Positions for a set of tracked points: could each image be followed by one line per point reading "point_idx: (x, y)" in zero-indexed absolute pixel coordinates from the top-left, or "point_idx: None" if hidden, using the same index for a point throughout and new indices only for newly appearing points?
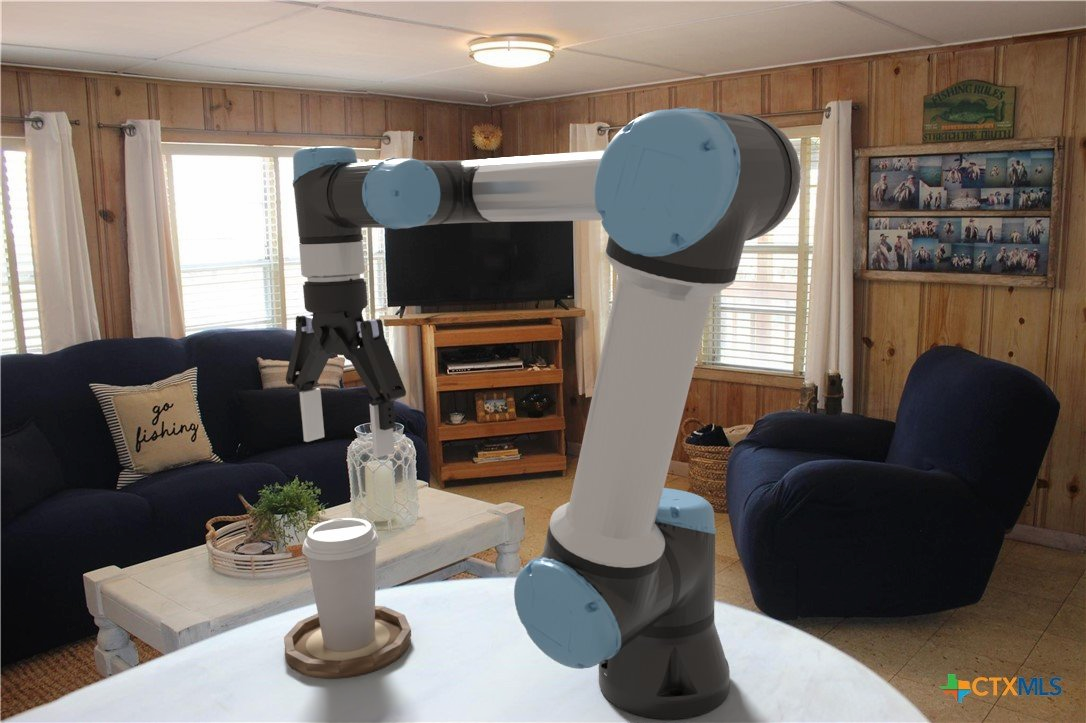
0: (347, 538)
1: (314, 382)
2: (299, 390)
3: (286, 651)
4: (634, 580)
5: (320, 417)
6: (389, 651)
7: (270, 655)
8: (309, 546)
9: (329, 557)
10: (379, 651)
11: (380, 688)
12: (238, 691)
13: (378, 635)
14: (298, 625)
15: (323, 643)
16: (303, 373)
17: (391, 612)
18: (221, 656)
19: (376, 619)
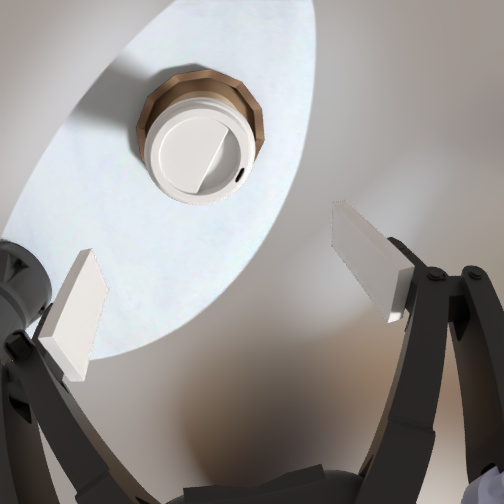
0: (156, 148)
1: (407, 325)
2: (421, 271)
3: (212, 70)
4: None
5: (352, 266)
6: (139, 146)
7: (242, 68)
8: (201, 104)
9: (160, 115)
10: (143, 138)
11: (111, 118)
12: (201, 21)
13: None
14: (254, 104)
15: None
16: (430, 319)
17: None
18: (277, 37)
19: None
